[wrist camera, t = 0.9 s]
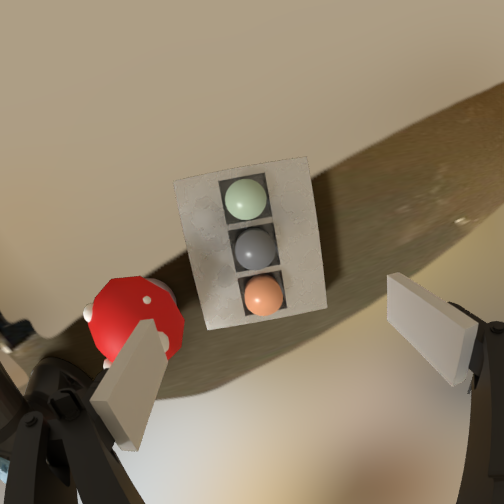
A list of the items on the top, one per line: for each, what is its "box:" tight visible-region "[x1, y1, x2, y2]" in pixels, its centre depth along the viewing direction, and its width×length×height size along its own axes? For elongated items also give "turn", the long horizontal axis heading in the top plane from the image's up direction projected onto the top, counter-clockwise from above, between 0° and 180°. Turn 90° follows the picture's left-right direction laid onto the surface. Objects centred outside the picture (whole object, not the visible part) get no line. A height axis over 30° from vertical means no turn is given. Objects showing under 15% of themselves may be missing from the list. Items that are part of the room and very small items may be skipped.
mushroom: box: [83, 276, 185, 369], centre depth 29 cm, size 11×11×12 cm
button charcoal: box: [235, 228, 275, 270], centre depth 30 cm, size 4×4×2 cm
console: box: [173, 157, 327, 330], centre depth 32 cm, size 14×17×4 cm
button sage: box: [225, 179, 267, 220], centre depth 29 cm, size 4×4×2 cm
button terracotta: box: [245, 274, 283, 316], centre depth 31 cm, size 4×4×2 cm
